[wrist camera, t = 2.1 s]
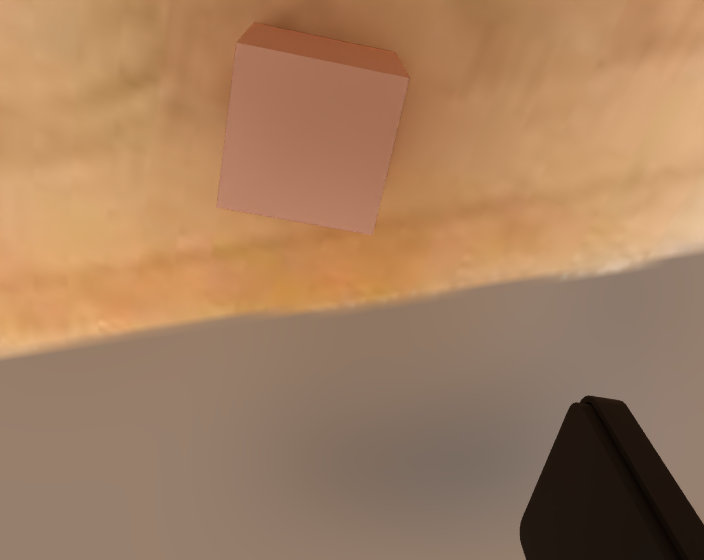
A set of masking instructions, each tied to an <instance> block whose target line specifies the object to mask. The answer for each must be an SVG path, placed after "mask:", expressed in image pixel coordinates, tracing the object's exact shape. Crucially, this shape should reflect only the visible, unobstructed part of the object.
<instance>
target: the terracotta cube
mask: <svg viewBox="0 0 704 560" xmlns="http://www.w3.org/2000/svg"><path fill="white" fill-rule="evenodd" d="M409 79H410V78H409V76H408V74H407V73H406V71H405V69H404V67H403V65H402V64H401V62H400V60H399V58H398V57H397V55H396V53H395V52H391V51H386V50H382V49H377V48H372V47H367V46H363V45H358V44H353V43H348V42H344V41H339V40H334V39H329V38H325V37H320V36H315V35H311V34H306V33H301V32H296V31H292V30H287V29H282V28H277V27H273V26H268V25H263V24H258V23H253V25H252V26H251V27H250V28H249V29H248V30H247V31H246V32H245V33H244V35H243V36H242V37H241V38H240V39H239V40H238V41H237V42H236V50H235V58H234V66H233V74H232V83H231V91H230V99H229V107H228V116H227V124H226V132H225V141H224V149H223V157H222V165H221V174H220V182H219V190H218V199H217V208H222V209H228V210H234V211H239V212H245V213H250V214H256V215H262V216H267V217H273V218H278V219H284V220H290V221H295V222H301V223H307V224H312V225H318V226H323V227H329V228H335V229H340V230H346V231H352V232H357V233H363V234H368V235H373V232H374V227H375V223H376V219H377V215H378V210H379V206H380V202H381V198H382V194H383V189H384V185H385V181H386V177H387V172H388V168H389V164H390V160H391V155H392V151H393V147H394V143H395V138H396V134H397V130H398V126H399V121H400V117H401V113H402V109H403V105H404V100H405V96H406V92H407V88H408V83H409Z"/></svg>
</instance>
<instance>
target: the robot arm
mask: <svg viewBox="0 0 704 560" xmlns="http://www.w3.org/2000/svg"><path fill="white" fill-rule="evenodd" d="M520 541H521V545H522V548H523V551H524V554H525V557H526V560H704V524H703V523H702V521H701V520H700V518H699V517H698V515H697V514H696V512H695V510H694V509H693V507H692V506H691V504H690V503H689V501H688V500H687V498H686V497H685V495H684V493H683V492H682V490H681V489H680V487H679V486H678V484H677V483H676V481H675V480H674V478H673V476H672V475H671V473H670V472H669V470H668V469H667V467H666V466H665V464H664V463H663V461H662V459H661V458H660V456H659V455H658V453H657V452H656V450H655V449H654V447H653V446H652V444H651V443H650V441H649V439H648V438H647V437H646V435H645V433H644V432H643V430H642V429H641V427H640V425H639V424H638V423H637V421H636V419H635V418H634V416H633V415H632V413H631V412H630V410H629V409H628V407H627V406H626V404H625V403H624V402H623V401H620V400H614V399H608V398H601V397H595V396H585V397H584V398H583V399H582V400H581V402H580V403H577V402H576V403H573V404H572V405H571V406H570V408H569V410H568V412H567V414H566V416H565V419H564V421H563V423H562V426H561V428H560V431H559V433H558V435H557V438H556V440H555V442H554V445H553V447H552V449H551V452H550V454H549V456H548V459H547V461H546V463H545V466H544V468H543V471H542V473H541V475H540V477H539V480H538V482H537V485H536V487H535V489H534V492H533V494H532V496H531V499H530V501H529V503H528V506H527V508H526V510H525V513H524V515H523V518H522V520H521V524H520Z"/></svg>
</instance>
